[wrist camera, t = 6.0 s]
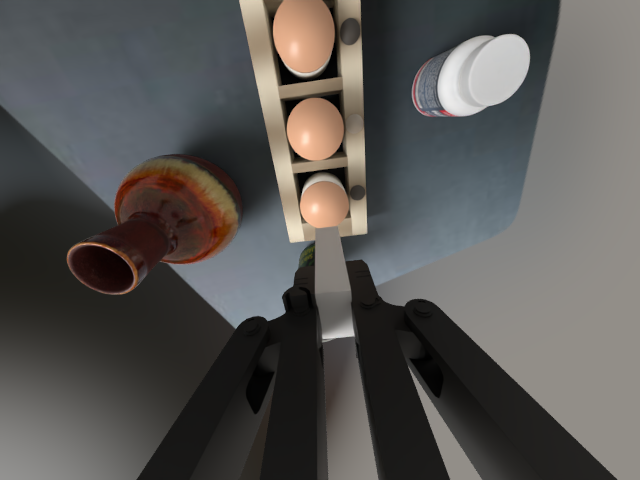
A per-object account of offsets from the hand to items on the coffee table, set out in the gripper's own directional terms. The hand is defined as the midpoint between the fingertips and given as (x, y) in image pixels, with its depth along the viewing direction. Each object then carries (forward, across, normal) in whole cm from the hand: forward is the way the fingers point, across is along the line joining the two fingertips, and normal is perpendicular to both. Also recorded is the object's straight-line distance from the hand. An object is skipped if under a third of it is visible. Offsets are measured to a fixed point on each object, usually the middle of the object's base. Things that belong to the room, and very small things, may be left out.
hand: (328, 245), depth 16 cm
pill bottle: (+14, +13, +9) cm, 21 cm away
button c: (+11, 0, 0) cm, 11 cm away
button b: (+11, 0, +7) cm, 13 cm away
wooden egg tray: (+14, 0, +7) cm, 15 cm away
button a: (+13, 0, +14) cm, 19 cm away
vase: (+14, -14, +1) cm, 20 cm away
